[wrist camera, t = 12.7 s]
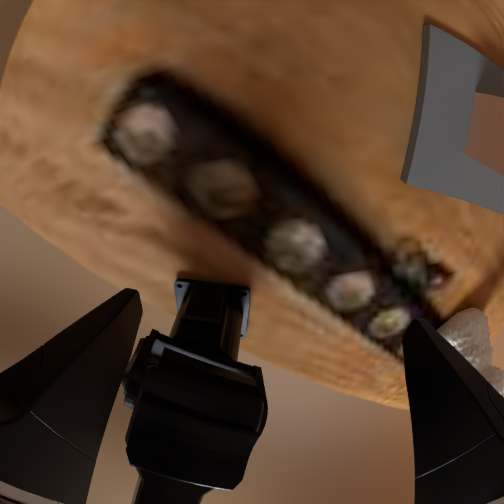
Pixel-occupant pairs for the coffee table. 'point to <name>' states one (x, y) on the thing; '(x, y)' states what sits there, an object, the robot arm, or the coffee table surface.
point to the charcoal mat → (451, 121)
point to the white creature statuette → (474, 343)
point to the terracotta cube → (487, 132)
